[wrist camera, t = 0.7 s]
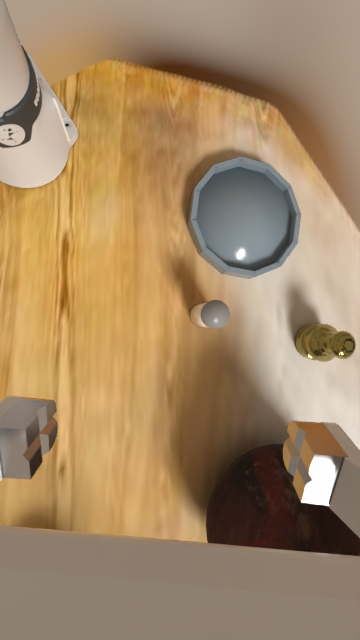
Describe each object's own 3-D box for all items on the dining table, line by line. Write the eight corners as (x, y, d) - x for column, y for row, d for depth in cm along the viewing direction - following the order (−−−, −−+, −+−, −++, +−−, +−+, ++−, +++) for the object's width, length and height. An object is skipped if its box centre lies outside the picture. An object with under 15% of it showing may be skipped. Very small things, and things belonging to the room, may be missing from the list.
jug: (168, 492, 50) (211, 658, 25) (265, 403, 54) (382, 472, 29) (244, 581, 53) (348, 805, 29) (330, 490, 57) (485, 618, 33)
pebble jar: (185, 308, 50) (198, 306, 42) (207, 299, 51) (223, 295, 43) (194, 330, 51) (208, 333, 43) (216, 321, 52) (233, 322, 43)
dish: (171, 183, 50) (173, 176, 47) (270, 153, 54) (276, 145, 52) (213, 293, 52) (218, 291, 49) (306, 255, 56) (314, 252, 53)
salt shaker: (307, 316, 56) (346, 315, 46) (331, 338, 57) (373, 342, 47) (287, 343, 55) (323, 348, 45) (311, 365, 56) (351, 375, 46)
